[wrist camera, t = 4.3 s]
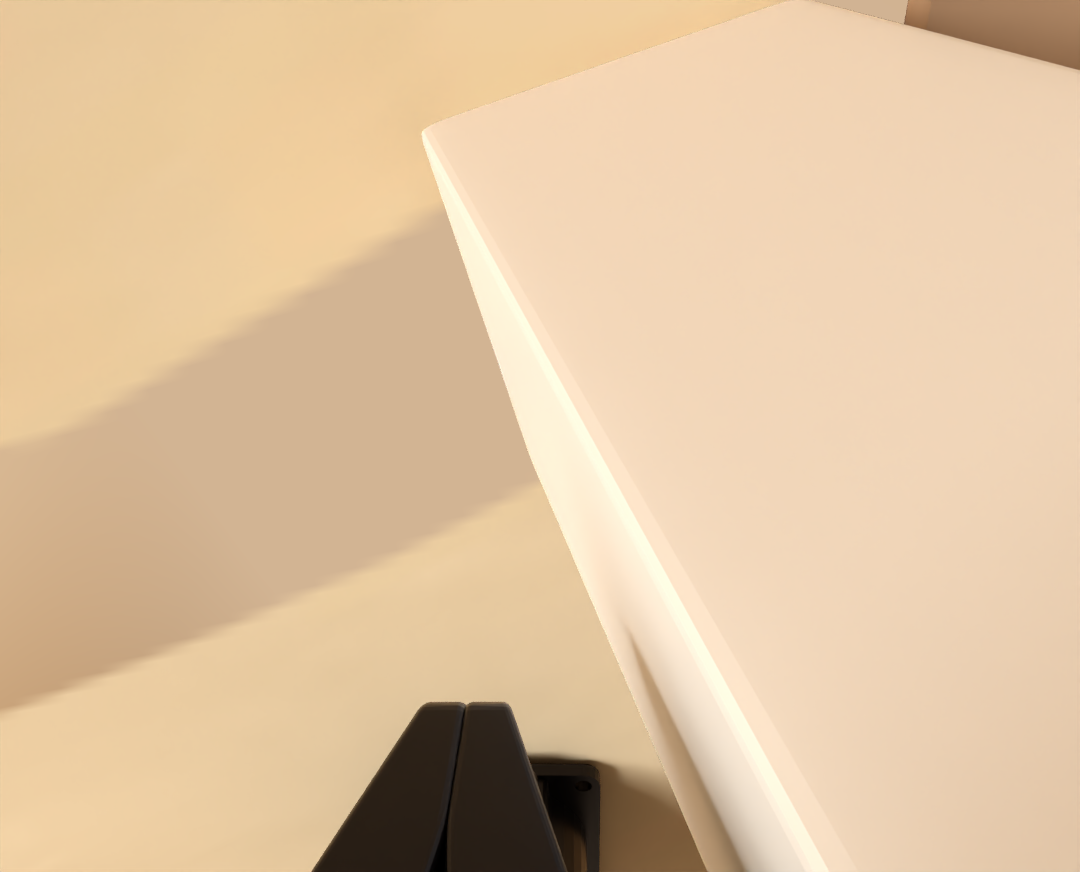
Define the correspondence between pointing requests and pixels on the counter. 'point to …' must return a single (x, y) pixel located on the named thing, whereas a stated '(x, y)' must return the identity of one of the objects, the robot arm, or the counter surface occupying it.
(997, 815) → the milk carton
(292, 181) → the counter surface
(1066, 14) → the walnut board
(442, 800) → the robot arm
